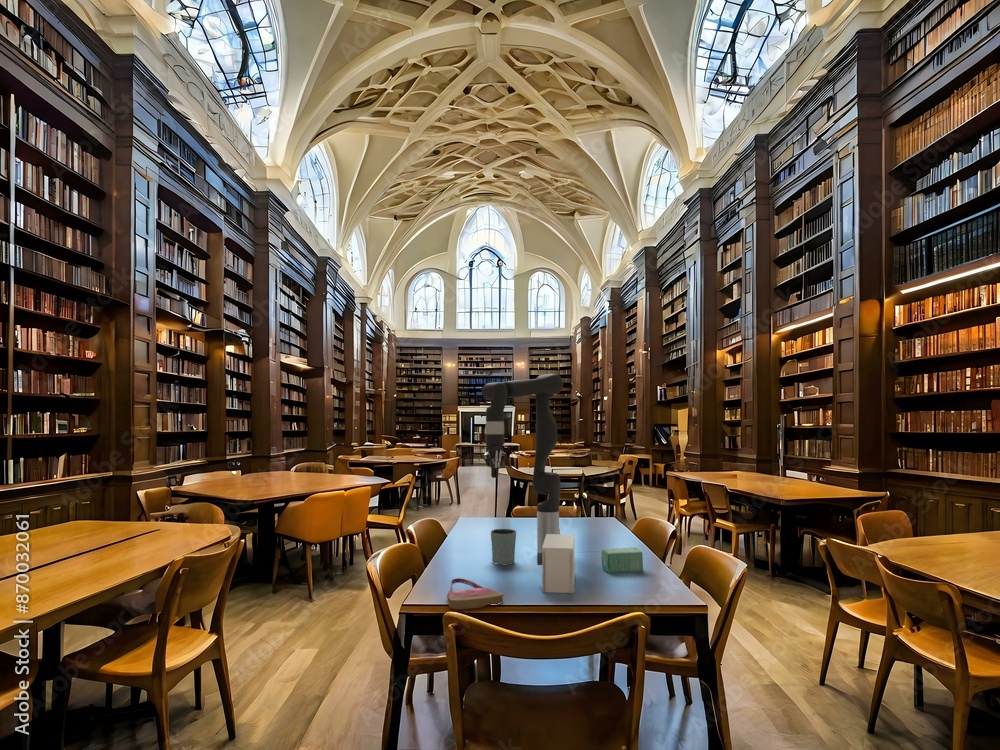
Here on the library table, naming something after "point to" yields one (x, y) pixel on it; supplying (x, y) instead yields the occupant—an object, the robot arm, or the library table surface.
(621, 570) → the box
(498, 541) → the grey green cup
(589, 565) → the library table surface
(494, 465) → the robot arm
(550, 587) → the console
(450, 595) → the shoulder bag
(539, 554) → the knob
